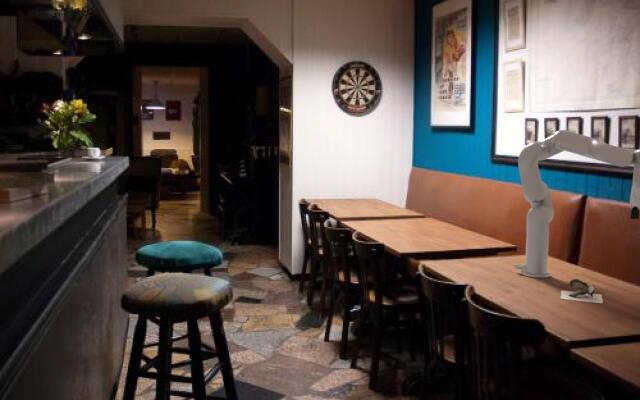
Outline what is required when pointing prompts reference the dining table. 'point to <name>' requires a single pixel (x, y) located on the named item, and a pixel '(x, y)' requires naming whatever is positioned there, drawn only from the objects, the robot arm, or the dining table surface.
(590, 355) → the dining table surface
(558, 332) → the dining table surface
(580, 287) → the eagle figurine
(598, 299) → the white square panel
